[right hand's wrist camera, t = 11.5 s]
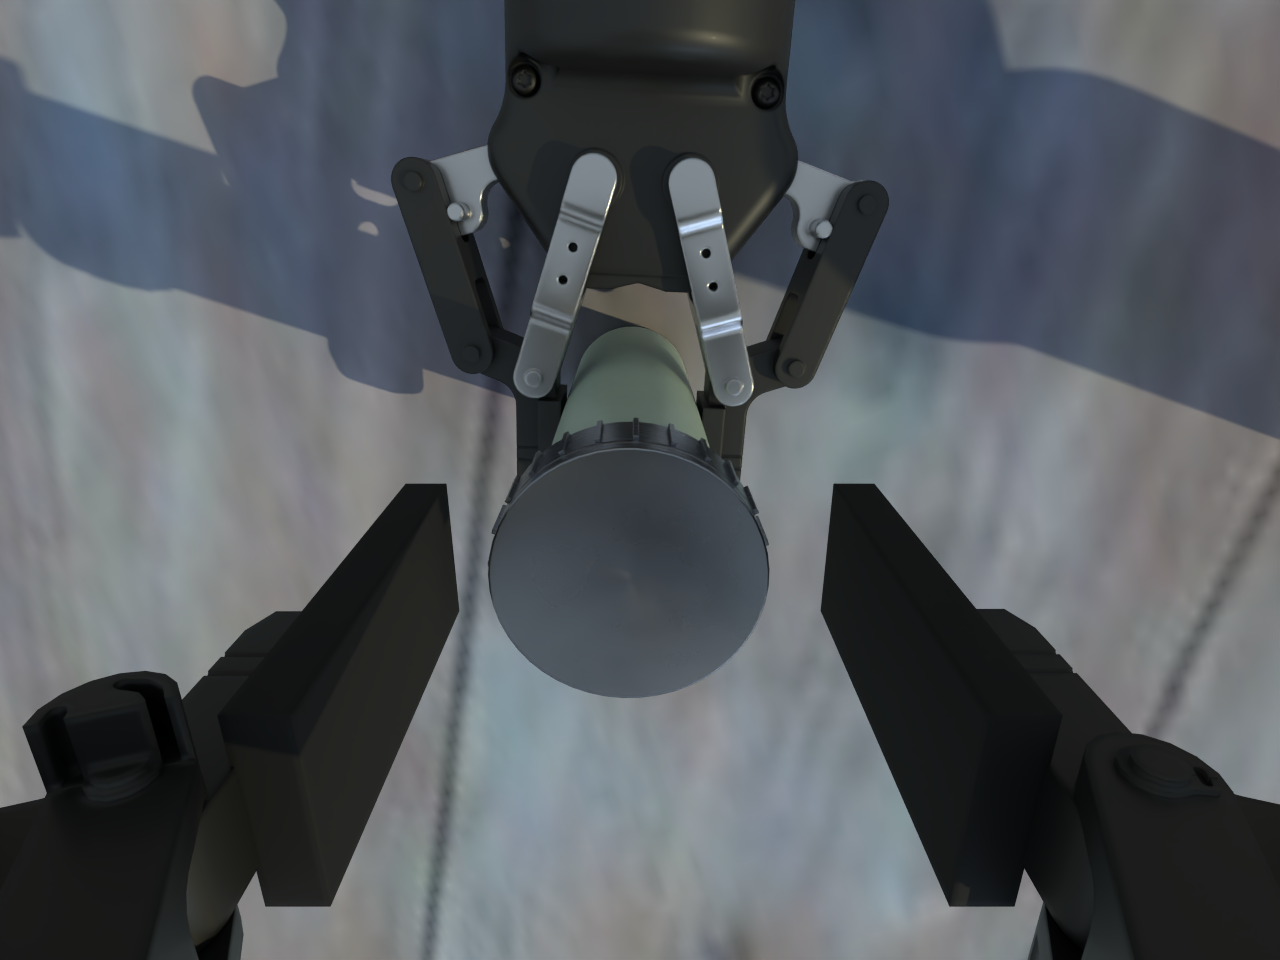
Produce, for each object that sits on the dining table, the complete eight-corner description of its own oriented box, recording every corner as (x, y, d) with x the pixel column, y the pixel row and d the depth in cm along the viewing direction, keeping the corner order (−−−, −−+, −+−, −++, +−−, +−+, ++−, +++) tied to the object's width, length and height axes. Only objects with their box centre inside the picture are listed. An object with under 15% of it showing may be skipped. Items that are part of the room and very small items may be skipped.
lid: (519, 659, 16) (506, 711, 14) (481, 427, 14) (462, 456, 13) (760, 642, 16) (775, 691, 14) (755, 406, 14) (770, 432, 13)
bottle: (583, 437, 30) (531, 673, 15) (571, 330, 28) (500, 473, 13) (688, 429, 30) (745, 658, 15) (682, 321, 28) (738, 454, 13)
